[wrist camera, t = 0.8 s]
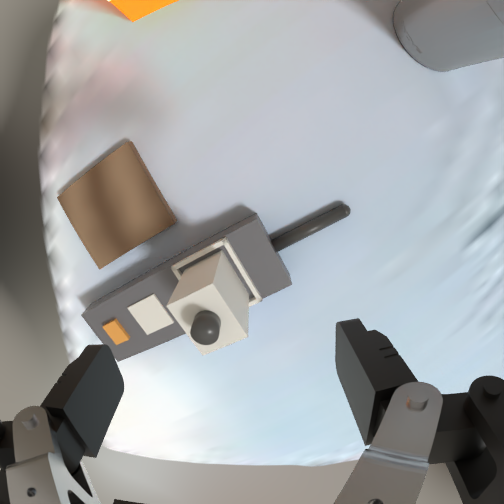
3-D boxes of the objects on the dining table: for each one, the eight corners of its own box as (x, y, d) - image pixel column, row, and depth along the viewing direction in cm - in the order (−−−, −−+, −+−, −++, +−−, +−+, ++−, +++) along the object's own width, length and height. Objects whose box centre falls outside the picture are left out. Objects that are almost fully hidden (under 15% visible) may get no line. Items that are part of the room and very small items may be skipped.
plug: (222, 249, 28) (210, 293, 20) (249, 294, 29) (247, 348, 21) (185, 269, 28) (161, 316, 20) (212, 311, 30) (200, 367, 22)
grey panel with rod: (333, 174, 28) (341, 177, 25) (360, 237, 30) (371, 247, 27) (90, 304, 33) (78, 317, 30) (124, 349, 35) (116, 364, 32)
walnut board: (132, 141, 27) (127, 141, 26) (177, 220, 29) (174, 223, 28) (62, 195, 28) (57, 197, 27) (104, 265, 31) (99, 269, 30)
